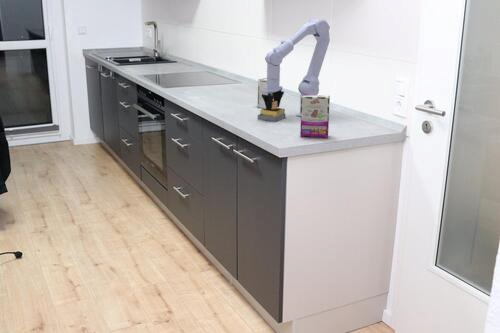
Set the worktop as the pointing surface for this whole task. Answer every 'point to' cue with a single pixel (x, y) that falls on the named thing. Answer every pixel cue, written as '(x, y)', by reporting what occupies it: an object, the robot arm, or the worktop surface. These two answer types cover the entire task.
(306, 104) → the candy bar box
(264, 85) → the syrup box
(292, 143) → the worktop surface
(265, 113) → the square open tray
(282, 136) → the worktop surface
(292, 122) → the worktop surface
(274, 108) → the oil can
